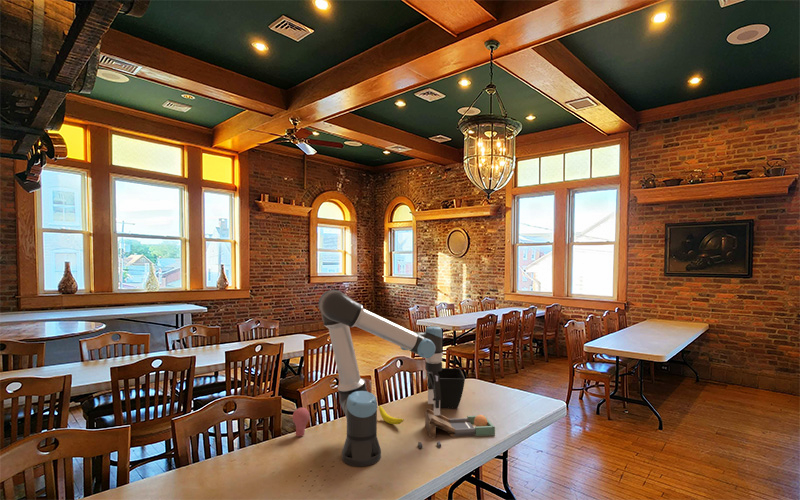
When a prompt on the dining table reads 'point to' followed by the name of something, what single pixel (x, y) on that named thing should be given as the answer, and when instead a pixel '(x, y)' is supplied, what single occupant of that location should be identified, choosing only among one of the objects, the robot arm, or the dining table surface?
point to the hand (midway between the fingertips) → (433, 409)
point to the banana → (389, 417)
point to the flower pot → (450, 387)
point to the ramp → (437, 423)
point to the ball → (480, 421)
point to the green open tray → (482, 427)
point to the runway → (462, 427)
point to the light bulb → (300, 420)
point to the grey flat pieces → (437, 444)
